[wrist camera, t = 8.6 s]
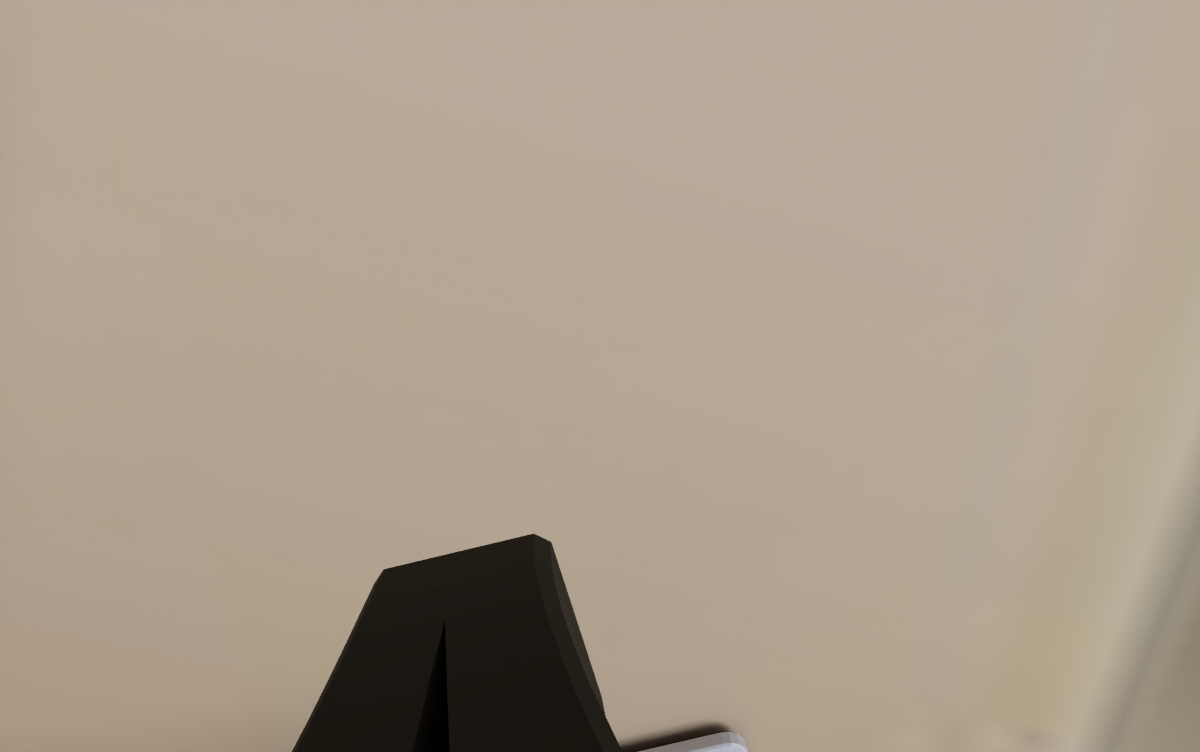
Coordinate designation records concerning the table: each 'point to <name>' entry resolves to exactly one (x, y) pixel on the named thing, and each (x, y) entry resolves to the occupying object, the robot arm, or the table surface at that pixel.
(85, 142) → the table surface
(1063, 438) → the table surface
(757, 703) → the table surface
